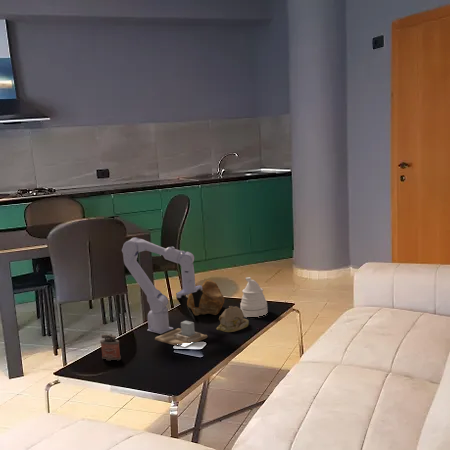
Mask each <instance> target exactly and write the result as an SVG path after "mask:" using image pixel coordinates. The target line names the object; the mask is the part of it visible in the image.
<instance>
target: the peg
mask: <svg viewBox="0 0 450 450" xmlns="http://www.w3.org/2000/svg"><path fill="white" fill-rule="evenodd" d="M180 329H181V333H182V335H184V336H188V337H190V336H192V335H194V334H195V332H196V331H195V322H193V321H189V320H183V321H181V322H180Z"/></svg>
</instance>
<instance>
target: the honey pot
mask: <svg viewBox="0 0 450 450" xmlns="http://www.w3.org/2000/svg"><path fill="white" fill-rule="evenodd" d="M245 280H246V282H247V284H245V287H244V289H242V296H241V302H240V303H239V304H240V307H239V308H240V309H241V310H242V312H243V314H244V317H243V318H247V317H258V318H260V317H259V316H263V315H265V316H267V315H268V314H267V313H268V312H269V310H268V301H267V300H266V297H265V294H264V293H263V292H264V289H263V288H262V287H261V286H260V284H259V283H258V282H257V281H256V280H255V279H252V276H251V277H250V276H249V277H248V276H247V277H245ZM266 314H267V315H266ZM263 317H264V316H263Z"/></svg>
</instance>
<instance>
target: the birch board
mask: <svg viewBox="0 0 450 450" xmlns="http://www.w3.org/2000/svg"><path fill="white" fill-rule="evenodd" d="M207 338H208V335H207V334H204V333H201V332H198V331H195V334H194V335H192V336H190V337H188V336H184V335H182V333H181V327H180V328H179V327H178V328H175V329H172V330H169V331H167V332H164V333H162V334H160V335H157V336H155V337H154V341H158V342H160V343H161V342H162V343H165V344H169V345H174V346H176V345H177V344H182V343H191V342H196V343H198V342H201V341H203V340H205V339H207Z"/></svg>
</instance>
